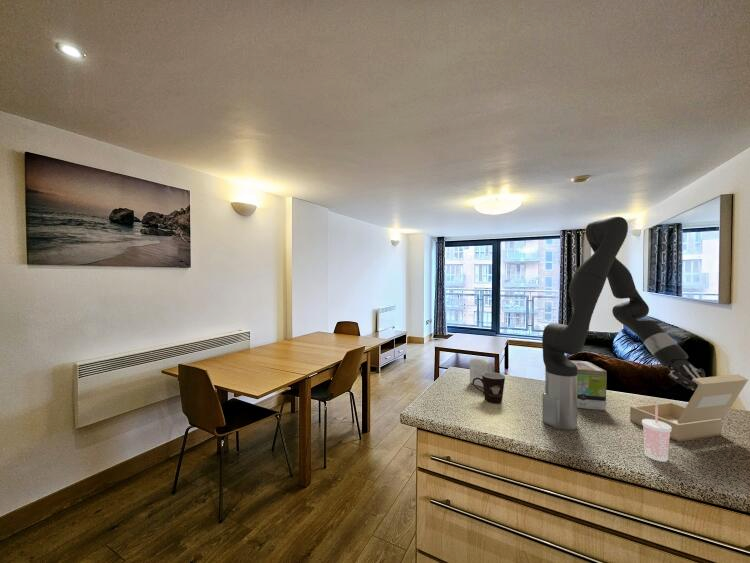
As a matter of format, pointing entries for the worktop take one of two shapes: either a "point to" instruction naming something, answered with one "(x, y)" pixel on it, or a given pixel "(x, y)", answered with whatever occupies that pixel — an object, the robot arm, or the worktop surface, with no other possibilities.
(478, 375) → the photo printer
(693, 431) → the mailer box
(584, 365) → the tea box
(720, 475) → the worktop surface
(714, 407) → the lid
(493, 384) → the coffee mug
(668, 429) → the beverage cup
